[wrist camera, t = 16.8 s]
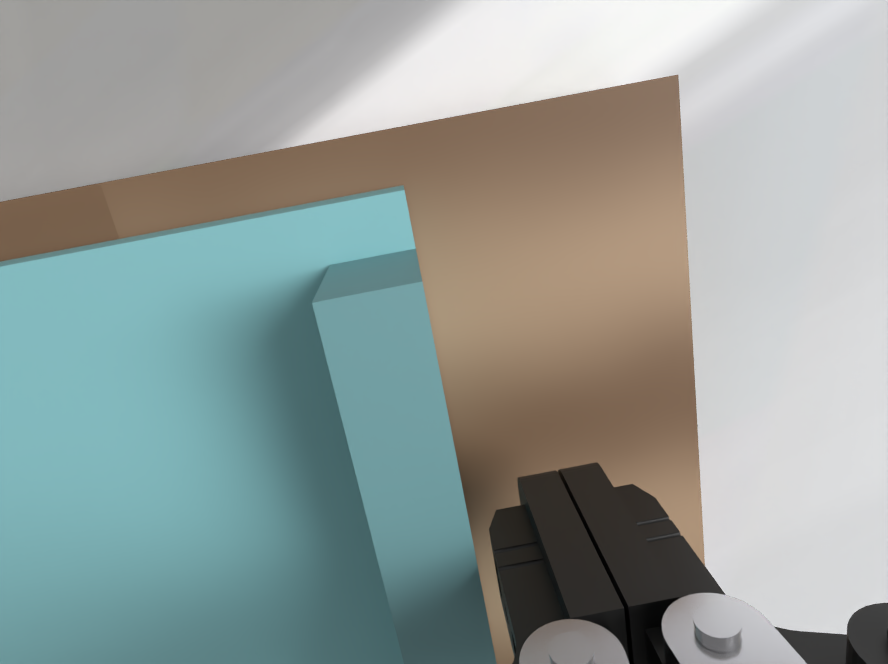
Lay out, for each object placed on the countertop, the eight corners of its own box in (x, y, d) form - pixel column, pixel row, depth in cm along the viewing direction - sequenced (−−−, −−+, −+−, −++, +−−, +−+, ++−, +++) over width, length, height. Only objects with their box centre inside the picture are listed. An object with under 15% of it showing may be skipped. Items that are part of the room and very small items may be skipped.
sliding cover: (500, 683, 15) (530, 838, 12) (90, 767, 15) (4, 950, 12) (403, 185, 11) (407, 207, 8) (-146, 289, 11) (-374, 355, 8)
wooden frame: (661, 585, 18) (710, 668, 16) (-80, 736, 18) (-168, 850, 15) (620, 86, 14) (678, 74, 11) (-360, 270, 14) (-559, 306, 11)
